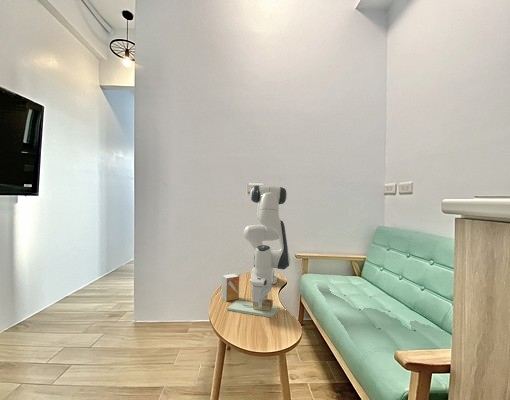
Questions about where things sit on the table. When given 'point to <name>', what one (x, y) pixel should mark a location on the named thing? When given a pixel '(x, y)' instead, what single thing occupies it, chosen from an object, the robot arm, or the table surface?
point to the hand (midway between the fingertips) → (262, 304)
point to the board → (251, 309)
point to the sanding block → (264, 305)
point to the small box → (230, 287)
